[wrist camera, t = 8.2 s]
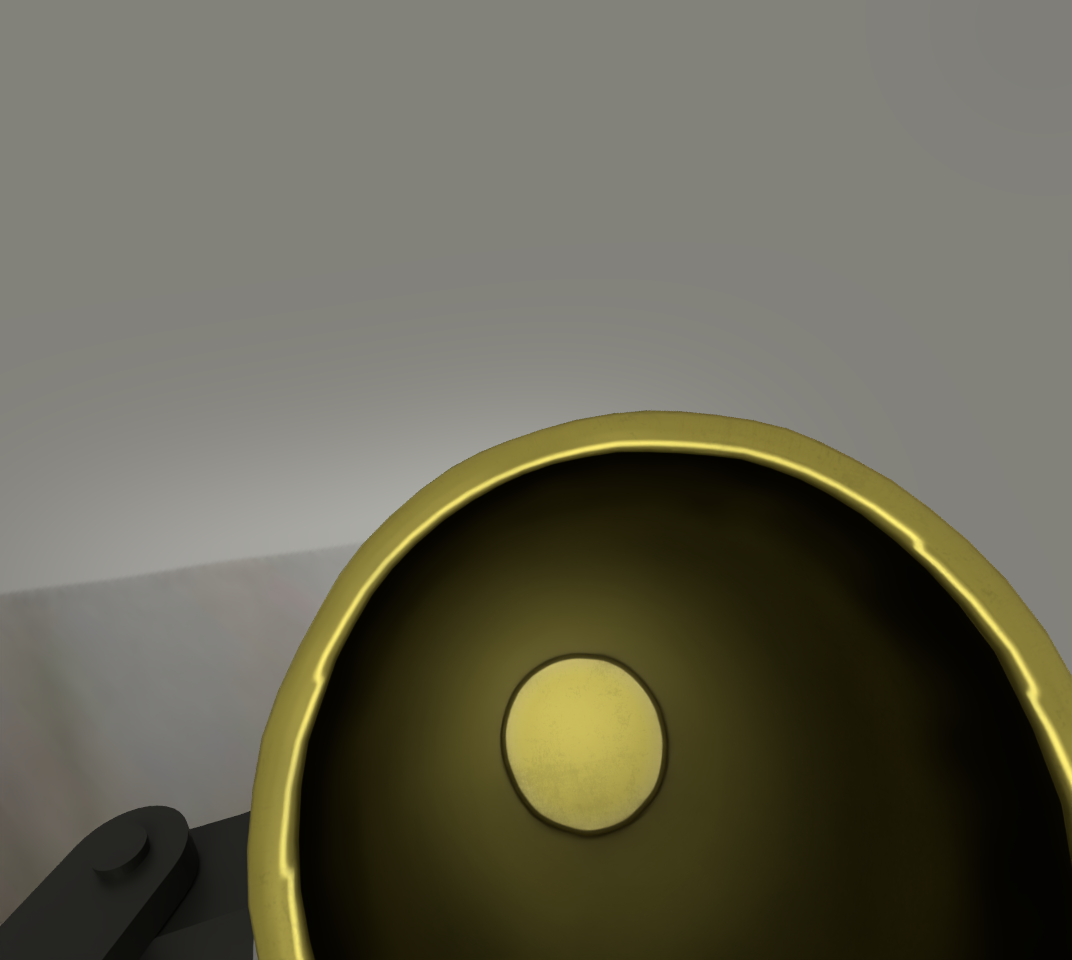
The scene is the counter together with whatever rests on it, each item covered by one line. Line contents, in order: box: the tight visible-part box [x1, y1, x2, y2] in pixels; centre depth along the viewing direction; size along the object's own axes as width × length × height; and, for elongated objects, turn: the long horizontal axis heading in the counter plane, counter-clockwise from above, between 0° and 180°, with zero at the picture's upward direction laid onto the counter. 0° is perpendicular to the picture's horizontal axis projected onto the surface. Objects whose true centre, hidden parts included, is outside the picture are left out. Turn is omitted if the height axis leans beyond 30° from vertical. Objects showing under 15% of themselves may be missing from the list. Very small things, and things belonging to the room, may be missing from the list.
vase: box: [247, 410, 1072, 960], centre depth 10 cm, size 6×6×14 cm
